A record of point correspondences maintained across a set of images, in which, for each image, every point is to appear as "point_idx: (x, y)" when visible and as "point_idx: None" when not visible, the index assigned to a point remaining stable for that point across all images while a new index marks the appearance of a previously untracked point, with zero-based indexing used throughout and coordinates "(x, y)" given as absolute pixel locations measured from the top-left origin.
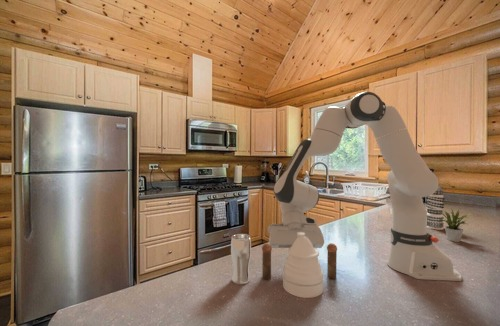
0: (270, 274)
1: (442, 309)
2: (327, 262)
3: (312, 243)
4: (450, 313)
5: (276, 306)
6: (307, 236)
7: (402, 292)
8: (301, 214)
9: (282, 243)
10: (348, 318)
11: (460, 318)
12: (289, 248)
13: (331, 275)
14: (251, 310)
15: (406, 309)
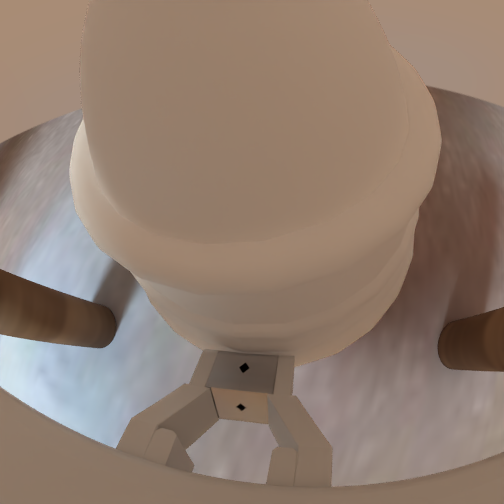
0: (453, 330)
1: (8, 160)
2: (60, 325)
3: (23, 408)
4: (11, 150)
5: None
6: (8, 498)
7: (4, 213)
8: None
9: (470, 469)
10: None
11: (14, 140)
12: (427, 133)
13: (96, 305)
14: (470, 124)
15: (48, 145)
